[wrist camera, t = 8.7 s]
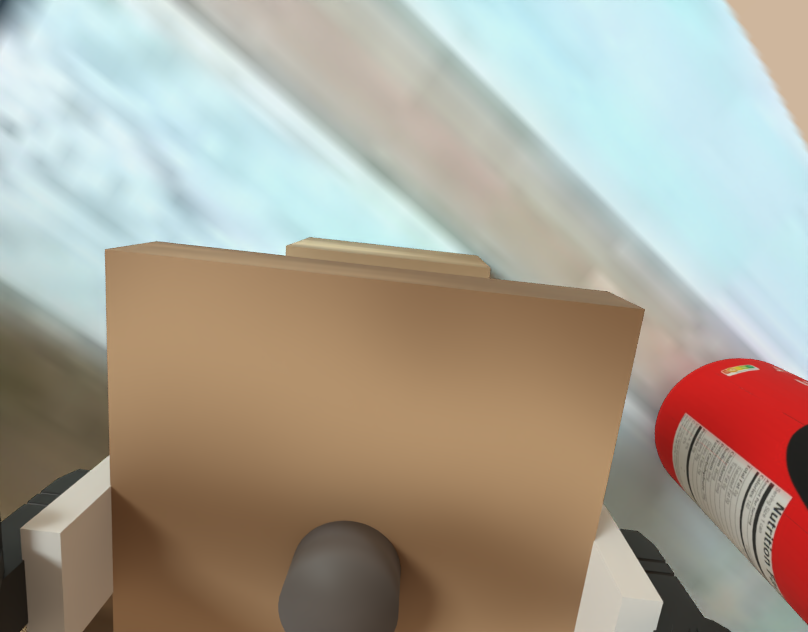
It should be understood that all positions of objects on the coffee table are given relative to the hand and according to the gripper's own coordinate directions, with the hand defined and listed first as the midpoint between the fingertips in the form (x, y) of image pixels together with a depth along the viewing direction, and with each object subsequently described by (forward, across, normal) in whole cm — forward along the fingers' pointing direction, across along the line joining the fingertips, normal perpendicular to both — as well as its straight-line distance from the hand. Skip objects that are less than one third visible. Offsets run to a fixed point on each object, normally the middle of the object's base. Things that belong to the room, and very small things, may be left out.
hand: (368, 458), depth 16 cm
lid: (-3, 0, 0) cm, 3 cm away
